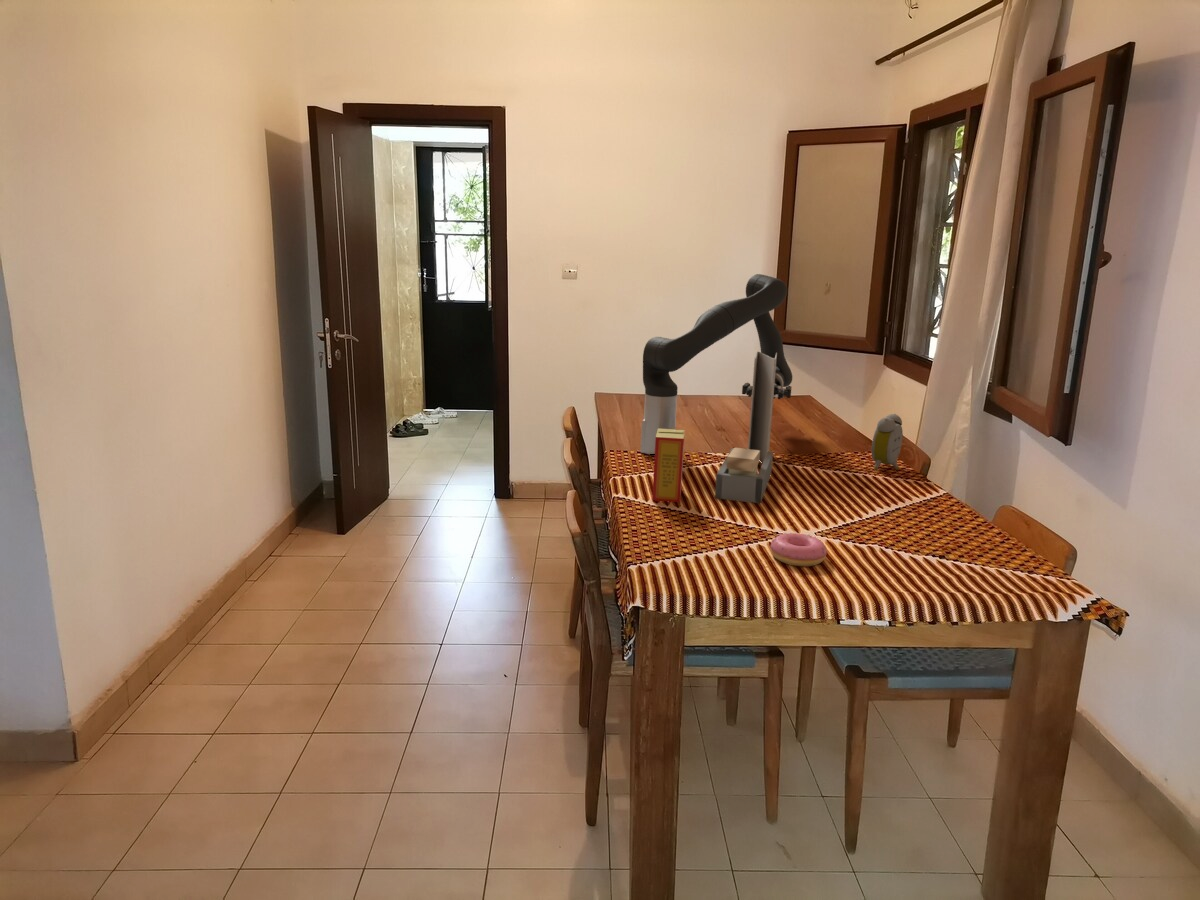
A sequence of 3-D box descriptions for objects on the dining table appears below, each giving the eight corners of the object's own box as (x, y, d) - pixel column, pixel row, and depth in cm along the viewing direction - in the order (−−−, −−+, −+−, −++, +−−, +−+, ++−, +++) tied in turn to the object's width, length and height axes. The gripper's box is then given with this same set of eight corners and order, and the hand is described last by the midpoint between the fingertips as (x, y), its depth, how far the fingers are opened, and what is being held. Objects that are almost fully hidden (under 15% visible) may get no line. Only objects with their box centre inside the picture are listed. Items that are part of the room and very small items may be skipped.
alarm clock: (880, 462, 236) (887, 411, 232) (905, 466, 232) (911, 414, 229) (868, 470, 227) (874, 417, 223) (892, 475, 223) (899, 421, 219)
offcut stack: (724, 496, 200) (726, 457, 197) (729, 485, 209) (732, 447, 207) (753, 500, 198) (757, 460, 195) (758, 488, 207) (761, 450, 205)
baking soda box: (679, 502, 194) (683, 437, 190) (652, 500, 195) (655, 435, 191) (681, 491, 203) (684, 428, 199) (654, 489, 204) (658, 426, 200)
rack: (714, 498, 198) (716, 474, 197) (730, 469, 223) (732, 448, 222) (760, 503, 195) (762, 479, 194) (771, 473, 220) (773, 452, 219)
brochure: (766, 467, 227) (775, 359, 219) (746, 465, 228) (754, 358, 221) (768, 454, 240) (777, 352, 233) (749, 452, 242) (757, 351, 234)
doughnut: (816, 548, 168) (818, 529, 167) (833, 570, 158) (835, 549, 157) (763, 548, 168) (765, 528, 167) (777, 569, 157) (779, 548, 156)
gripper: (747, 371, 253) (740, 379, 238) (795, 374, 249) (790, 383, 234) (746, 395, 255) (738, 405, 240) (792, 399, 251) (788, 409, 236)
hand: (764, 394), depth 237 cm, fingers open, 8 cm apart
